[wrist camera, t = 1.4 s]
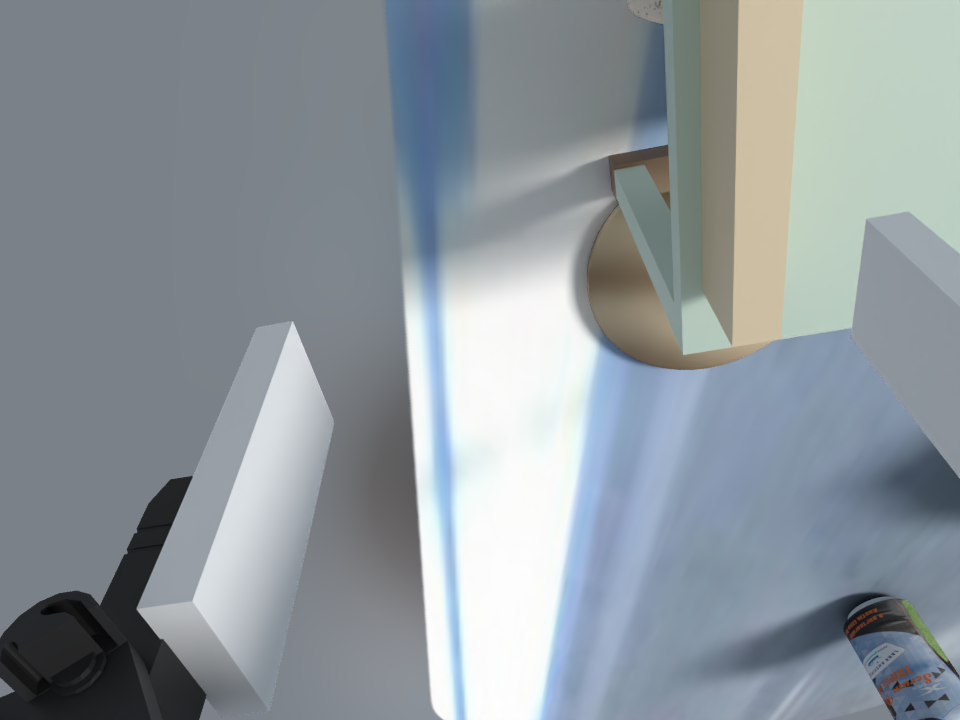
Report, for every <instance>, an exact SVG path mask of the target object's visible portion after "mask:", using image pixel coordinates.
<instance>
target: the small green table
mask: <svg viewBox="0 0 960 720" xmlns="http://www.w3.org/2000/svg"><path fill="white" fill-rule="evenodd" d="M663 20H664V47H665V73H666V100H667V126H668V153H669V179H670V206H671V212H670V210H669V208H668V206H667V204H666V203H665V201H664V199H663V197H662V195H661V194H660V192H659V190H658V188H657V186H656V185H655V183H654V181H653V179H652V177H651V176H650V174H649V172H648V170H647V168H646V167H645V165H639V166H634V167H628V168H623V169H618V170H614V176H615V188H616V198H617V201H618V203H619V205H620V208H621V210H622V213H623V215H624V217H625V220H626V222H627V224H628V227H629V229H630V231H631V234H632V236H633V238H634V241H635V243H636V245H637V248H638V250H639V253H640V255H641V257H642V260H643V262H644V264H645V267H646V269H647V271H648V274H649V276H650V278H651V281H652V283H653V286H654V288H655V290H656V293H657V295H658V297H659V300H660V302H661V304H662V307H663V309H664V311H665V314H666V316H667V318H668V321H669V323H670V326H671V328H672V330H673V333H674V335H675V337H676V340H677V342H678V344H679V347H680V349H681V351H682V354H683V355H687V354H693V353H699V352H705V351H711V350H718V349H724V348H730V347H737V346H743V345H749V344H755V343H761V342H768V341H774V340H780V339H786V338H792V337H798V336H804V335H811V334H817V333H823V332H829V331H835V330H842V329H848V328H852V324H853V316H854V308H855V301H856V293H857V285H858V278H859V270H860V262H861V255H862V247H863V240H864V232H865V224H866V219H869V218H874V217H880V216H886V215H891V214H897V213H902V212H908V211H909V212H910V213H911V214H912V215H914V216H915V217H916V218H917V219H918V220H920V221H921V222H922V223H923V224H924V225H926V226H927V227H928V228H929V229H930V230H932V231H933V232H934V233H935V234H936V235H938V236H939V237H940V238H941V239H942V240H944V241H945V242H946V243H947V244H948V245H950V246H951V247H952V248H953V249H954V250H956V251H957V252H958V253H959V254H960V0H663Z"/></svg>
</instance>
